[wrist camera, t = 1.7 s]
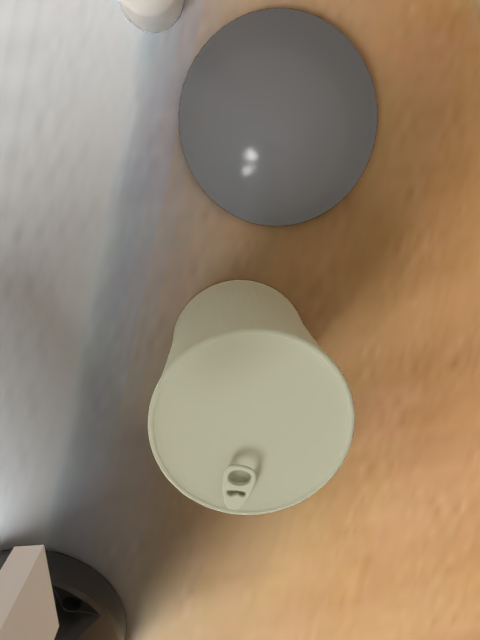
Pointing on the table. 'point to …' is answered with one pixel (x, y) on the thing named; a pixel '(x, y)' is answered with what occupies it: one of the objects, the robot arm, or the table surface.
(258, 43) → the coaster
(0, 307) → the table surface
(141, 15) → the salt shaker
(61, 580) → the robot arm
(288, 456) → the can
